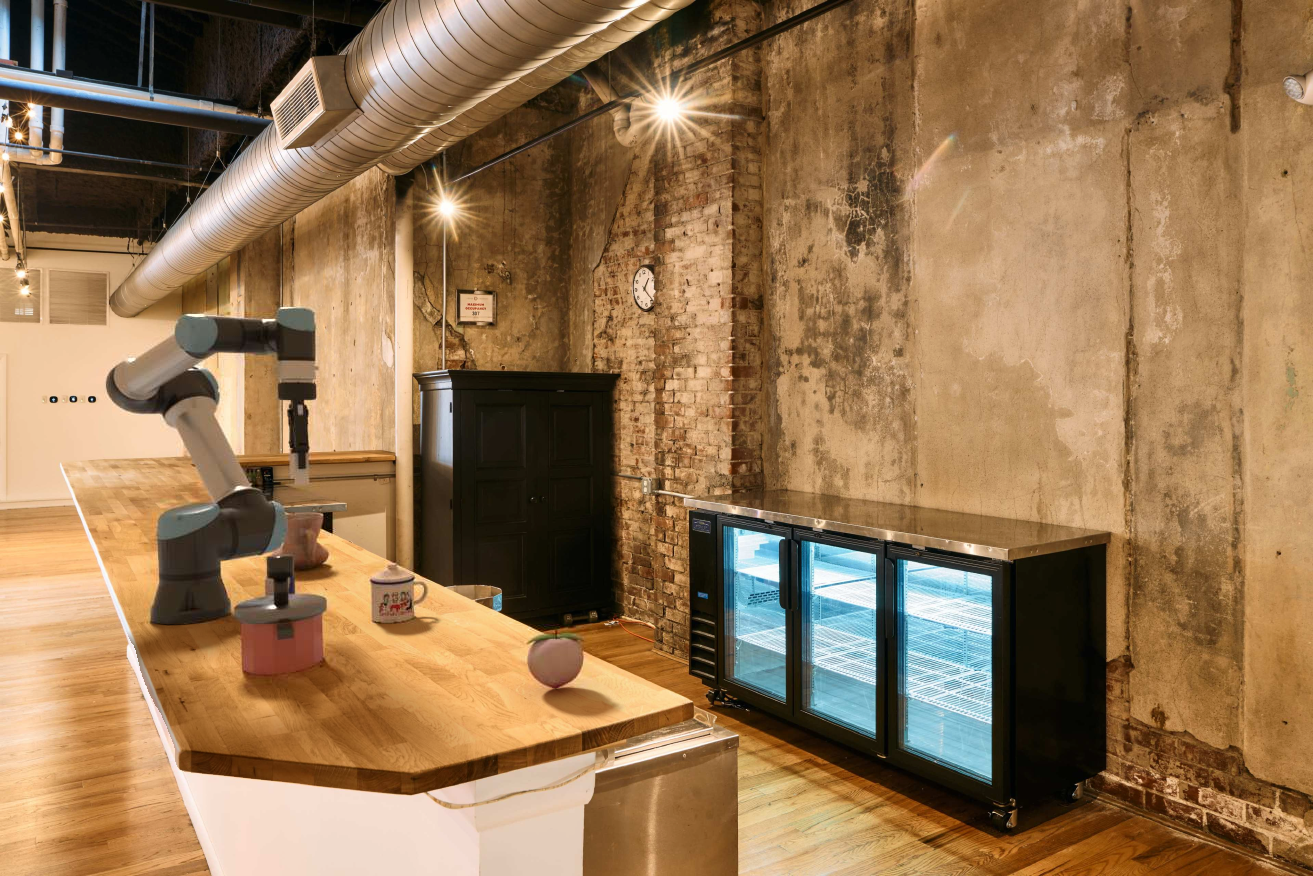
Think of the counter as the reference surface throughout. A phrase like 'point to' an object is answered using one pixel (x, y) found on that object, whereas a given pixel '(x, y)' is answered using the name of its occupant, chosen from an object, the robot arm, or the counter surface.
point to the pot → (281, 646)
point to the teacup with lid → (394, 595)
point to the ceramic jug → (304, 540)
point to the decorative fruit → (555, 658)
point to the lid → (280, 598)
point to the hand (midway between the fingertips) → (299, 481)
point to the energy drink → (270, 590)
